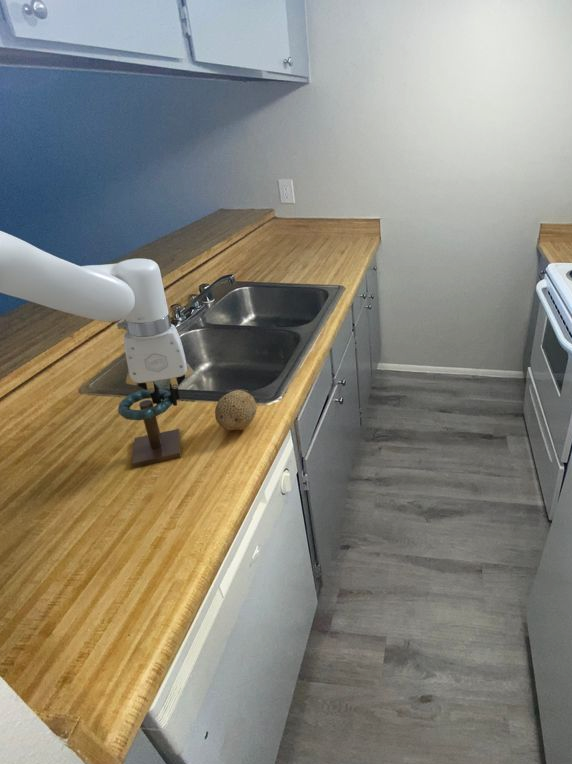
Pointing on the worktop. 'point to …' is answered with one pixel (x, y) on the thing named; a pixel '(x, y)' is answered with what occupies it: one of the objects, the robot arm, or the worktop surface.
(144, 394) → the ring
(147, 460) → the post
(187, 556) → the worktop surface
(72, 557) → the worktop surface
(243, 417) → the natural sponge
